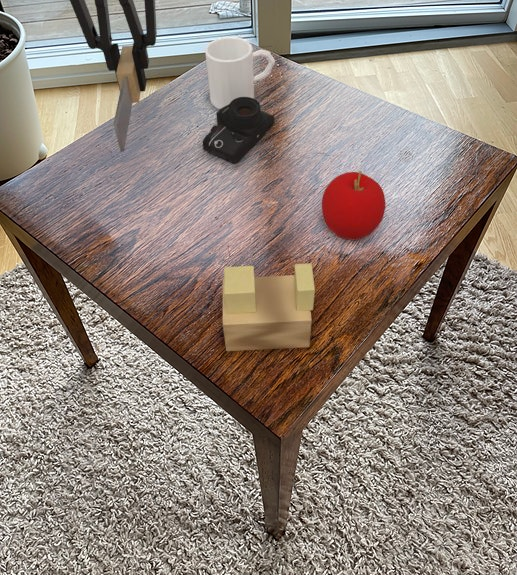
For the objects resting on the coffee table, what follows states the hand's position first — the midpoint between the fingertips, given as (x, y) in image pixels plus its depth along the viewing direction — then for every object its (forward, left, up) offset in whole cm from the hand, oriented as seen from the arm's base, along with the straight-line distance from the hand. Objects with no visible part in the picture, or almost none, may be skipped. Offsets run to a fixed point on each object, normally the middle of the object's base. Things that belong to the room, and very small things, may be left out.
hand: (133, 86), depth 90 cm
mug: (+17, +12, -11) cm, 23 cm away
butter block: (+16, -39, -5) cm, 42 cm away
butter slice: (+23, -39, -5) cm, 46 cm away
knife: (0, -6, 0) cm, 6 cm away
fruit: (+32, -22, -11) cm, 40 cm away
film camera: (+16, 0, -11) cm, 19 cm away
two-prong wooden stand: (+19, -39, -11) cm, 45 cm away
